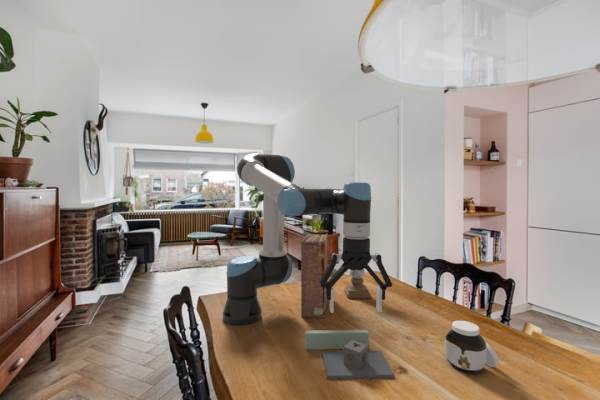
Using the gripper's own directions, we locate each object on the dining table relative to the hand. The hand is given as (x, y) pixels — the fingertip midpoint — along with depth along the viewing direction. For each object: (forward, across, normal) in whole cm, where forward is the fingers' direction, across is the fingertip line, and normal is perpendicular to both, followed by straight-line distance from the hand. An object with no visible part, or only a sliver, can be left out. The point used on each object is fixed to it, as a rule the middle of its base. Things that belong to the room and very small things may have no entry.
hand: (355, 310), depth 85 cm
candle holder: (+17, +13, +58) cm, 61 cm away
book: (+17, -8, +44) cm, 48 cm away
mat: (+16, 0, 0) cm, 16 cm away
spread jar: (+16, +33, -2) cm, 37 cm away
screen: (+16, -4, +10) cm, 19 cm away
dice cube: (+15, 0, -1) cm, 15 cm away
